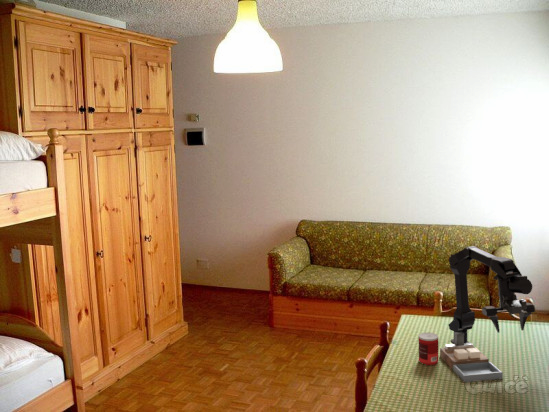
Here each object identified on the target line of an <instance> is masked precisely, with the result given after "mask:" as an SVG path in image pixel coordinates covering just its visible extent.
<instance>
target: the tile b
mask: <svg viewBox="0 0 549 412" xmlns="http://www.w3.org/2000/svg"><path fill="white" fill-rule="evenodd" d="M466 351H467V352H468V357H469V358H480V352H481V351H480V350H479V349H478V348H477V347H475V348H467V349H466Z"/></svg>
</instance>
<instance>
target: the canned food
mask: <svg viewBox="0 0 549 412" xmlns="http://www.w3.org/2000/svg"><path fill="white" fill-rule="evenodd" d="M418 361H420V362H421V363H423V364H426V365H425V366H435V365H437V364H438V363H439V335H438V334H437V333H434V332H427V331H426V332H421V333H419V334H418ZM420 362H419V363H420ZM421 363H420V364H421ZM423 364H422V365H423Z"/></svg>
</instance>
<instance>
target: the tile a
mask: <svg viewBox="0 0 549 412" xmlns="http://www.w3.org/2000/svg"><path fill="white" fill-rule="evenodd" d="M454 356H455V357H456V358H457V359H458V360H459V359H468V352H467V351H466V350H465V349H455V350H454Z"/></svg>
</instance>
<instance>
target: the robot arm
mask: <svg viewBox="0 0 549 412" xmlns="http://www.w3.org/2000/svg"><path fill="white" fill-rule="evenodd" d="M473 260H475V261H477V262H478V263H481V264H484V265H486V266H488V267H489V268H490V270H491V271H492V272H494V274H496V275H494V277H493V280H497V286H498V293H497V296H498V297H499V298H498V299H499V304H498V306H499V307H495V306H493V305H487V306H483V307H482V308H481V312H482V315H484V316H486V317H487V318H489V319H490V321H491V322H492V324H493V326H494V328H495V330H496V331H497V333H498V334H499V333H500V324H499V315H498V313H508V315H515V314H516V315H517V314H519V315H518V317H519V326H520V330H521V331H524V329H525V325H526V322H527V319H528V317H529V316H530V315H532V314H533V313H536V307H535V305H534V304H533V303H530V302H527V300H526V299H519V300H518V298H517V294H520V295H529V294H530V293H532V290H533V284H532V282H531V280H530V279H528V276H527V275H522V273H521V271H520V270H519V268H518V267H517V265H516V263H515V261H514V260H513V259H512V258H509V257H502V256H496V255H494V254H491V253H489V252H487V251H485V250H482V249H480V248H478V247H477V246H475V245H472V246H466V247H464V248H463V249H461V250H460V251H458V252H456V253H452V254H451V255H450V256H449V258H448V263H449V268H450V270H451V272H452V274H454V286H455V297H456V299H455V301H456V307H455V310H454V312H453V318H452V319H453V320H451V322H449V324H448V328H449V331H452V332H453V333H454V332H463V333H464V343H470V342H469V341H468V331H469V330H472V329H473V326H474V325H475V322H476V317H475V315H476V314H475V313H476V312H475V311H473V310H471V308H470V303H469V290H468V287H469V286H468V276H467V275H468V272H469V270H470V268H471V261H473ZM450 342H452V344H454V338H453V339H450Z"/></svg>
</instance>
